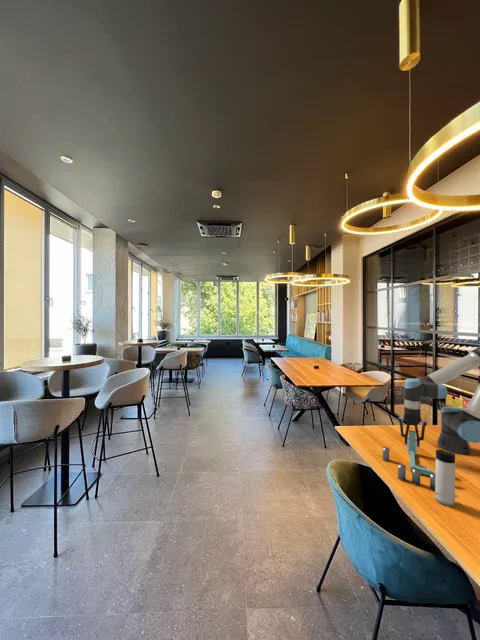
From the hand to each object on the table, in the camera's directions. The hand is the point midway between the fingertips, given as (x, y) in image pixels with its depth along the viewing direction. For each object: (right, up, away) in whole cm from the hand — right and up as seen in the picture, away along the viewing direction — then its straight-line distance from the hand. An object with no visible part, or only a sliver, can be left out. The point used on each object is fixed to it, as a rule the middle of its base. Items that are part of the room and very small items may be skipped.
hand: (412, 451), depth 150 cm
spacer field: (-13, -1, -20) cm, 24 cm away
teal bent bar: (-3, -1, -11) cm, 11 cm away
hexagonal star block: (-6, -1, -18) cm, 19 cm away
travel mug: (-12, -1, -40) cm, 42 cm away
